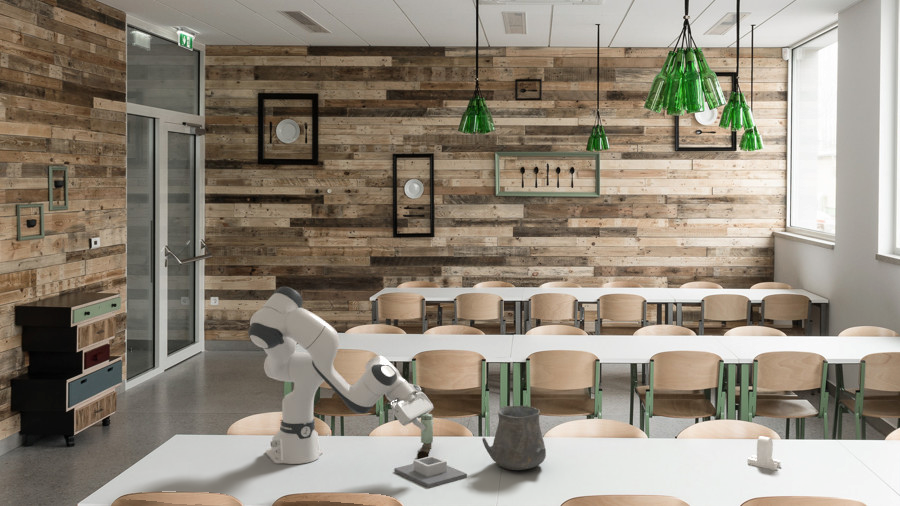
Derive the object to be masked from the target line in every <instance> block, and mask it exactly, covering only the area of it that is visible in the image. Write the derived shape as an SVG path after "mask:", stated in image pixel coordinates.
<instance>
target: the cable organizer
mask: <svg viewBox="0 0 900 506" xmlns="http://www.w3.org/2000/svg"><path fill="white" fill-rule="evenodd" d="M773 443H774V442H773V439H772V437H768V436H762V435H760V436H758V438H757V441H756V455H754V454H753V455H751V457H747V465H750V466H755V467H759V468H764V469H768V470H769V469H770V470H773V471H775V470H777V469H778V468H781V460H779V459H775V458H773V450H774V449H773V445H774V444H773Z"/></svg>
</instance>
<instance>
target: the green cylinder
mask: <svg viewBox="0 0 900 506" xmlns="http://www.w3.org/2000/svg"><path fill="white" fill-rule="evenodd" d="M420 421H421V422H422V423H423V424H424V423H425V425H426V426H427V428H426V429H425V430H424V431H422V430H421V429H420V443H421V444H423V443H432V444H433V443H434V442H433V441H434V428H433V427H434V424H433V423H434V414H432V413H428V414H422V415H421V418H420Z"/></svg>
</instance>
